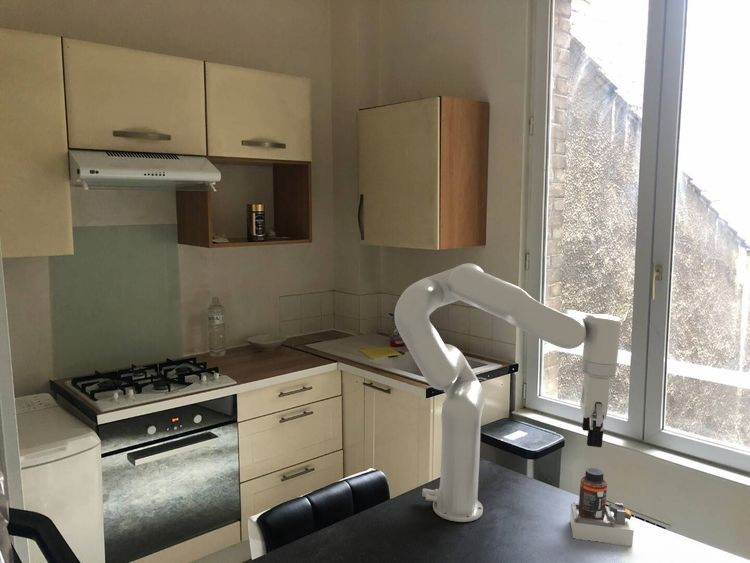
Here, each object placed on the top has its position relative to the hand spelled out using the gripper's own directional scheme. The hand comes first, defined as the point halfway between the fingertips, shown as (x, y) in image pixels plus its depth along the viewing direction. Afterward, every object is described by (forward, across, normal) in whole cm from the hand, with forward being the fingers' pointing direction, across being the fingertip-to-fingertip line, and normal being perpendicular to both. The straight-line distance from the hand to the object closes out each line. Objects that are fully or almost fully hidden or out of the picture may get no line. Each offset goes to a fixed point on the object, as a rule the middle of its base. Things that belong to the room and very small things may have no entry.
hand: (591, 438), depth 145 cm
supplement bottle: (+19, 0, +2) cm, 19 cm away
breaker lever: (+17, 0, +8) cm, 19 cm away
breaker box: (+23, +1, +4) cm, 23 cm away
